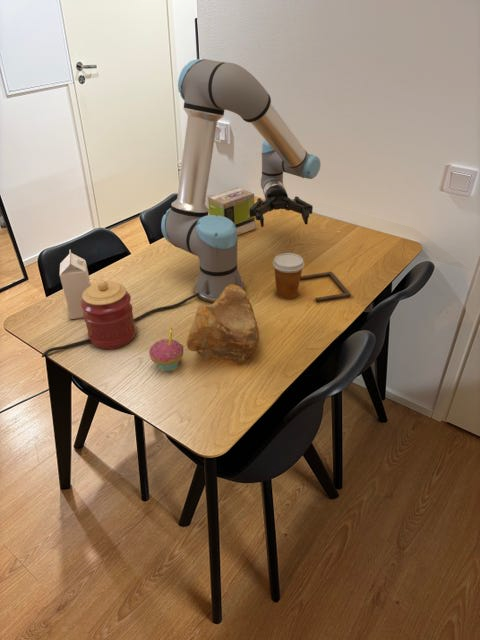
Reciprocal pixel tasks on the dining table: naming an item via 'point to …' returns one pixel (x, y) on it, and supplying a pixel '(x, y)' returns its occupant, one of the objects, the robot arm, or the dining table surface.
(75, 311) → the milk carton
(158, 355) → the cupcake
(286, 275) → the disposable coffee cup
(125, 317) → the kitchen canister
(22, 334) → the dining table surface
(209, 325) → the rough brown rock
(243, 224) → the tea box
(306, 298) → the dining table surface
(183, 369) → the dining table surface
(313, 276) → the walnut frame
